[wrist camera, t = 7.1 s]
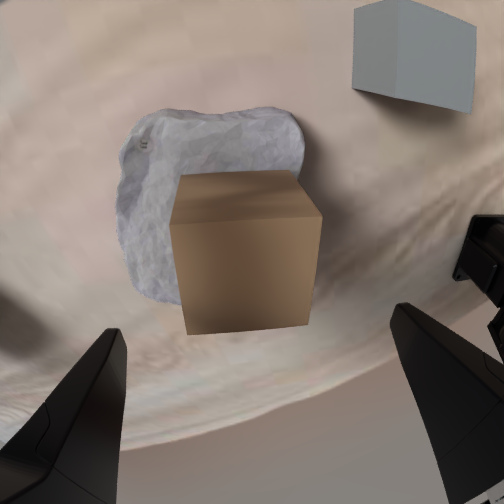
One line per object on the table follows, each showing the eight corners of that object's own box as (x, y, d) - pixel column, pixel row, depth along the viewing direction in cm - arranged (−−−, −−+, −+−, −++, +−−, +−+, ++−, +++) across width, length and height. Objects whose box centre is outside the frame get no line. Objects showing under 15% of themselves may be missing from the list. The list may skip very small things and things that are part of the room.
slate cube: (423, 27, 14) (476, 26, 10) (420, 98, 17) (471, 114, 12) (353, 9, 13) (398, -4, 9) (351, 87, 16) (394, 98, 12)
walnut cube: (289, 169, 15) (322, 216, 11) (284, 259, 17) (307, 324, 13) (180, 174, 14) (168, 225, 10) (190, 265, 17) (187, 335, 13)
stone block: (145, 266, 23) (280, 282, 23) (120, 306, 19) (279, 328, 19) (137, 101, 17) (303, 109, 17) (98, 109, 13) (311, 116, 13)
